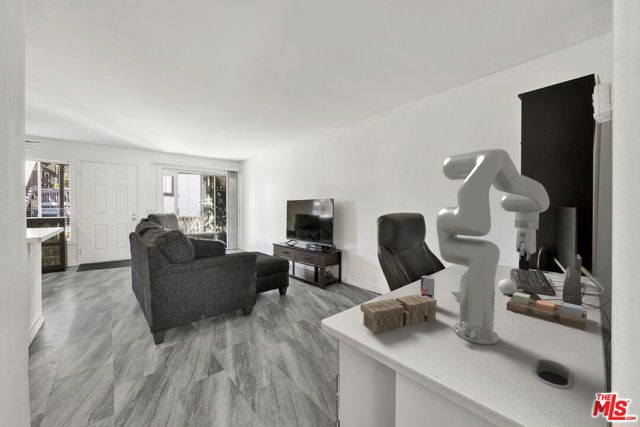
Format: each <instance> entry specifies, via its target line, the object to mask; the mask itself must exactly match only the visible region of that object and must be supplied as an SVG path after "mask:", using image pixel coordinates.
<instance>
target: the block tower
mask: <svg viewBox="0 0 640 427" xmlns="http://www.w3.org/2000/svg"><path fill="white" fill-rule="evenodd" d="M437 303H438V300H437V299H435V298H434V299H433V298H430V297H428V296H421V294H420V293H416V294H411V295H404V296H400V297H396V298H395V299H394V298H388V299H382V300H378V301H372V302H367V303H365V302H361V303H360V308H359V310H360V311H361V312H362V313H363V322H362V323H363V324H362V325H363V326H364V327H366V328H367V329H368V330H370V331H371V332H372V333H374V334H375V335H380V334H383V333H388V332H391V331H396V330H399V329H403V328H404V327H406V328H407V327H409V326H410V327H411V326H415V325H418V324H423V323H425V322H431V321H434V320H436V319H437V318H436V317H437V305H438V304H437Z"/></svg>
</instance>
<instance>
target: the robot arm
mask: <svg viewBox="0 0 640 427" xmlns="http://www.w3.org/2000/svg"><path fill="white" fill-rule="evenodd" d="M442 172H443V175H444V176H445V177H446V178H447V179H449V180H451V181H454V180H455V181H459V180H460V181H461V180H463V182H462V183H461V185H460V186H459V187H458V190H457V192H456V196H457V206H447V207H443V208H441V210H440V211H439V212H438V214H437V216H436V223H435V224H436V225H435V226H436V233H437V241H438V249H439V255H440V257H441V259H442V260H443V261H444V262H447V263H450V264H453V265H459V266H464V267H467V268H468V269H467V271H465V272H464V274H462V276H461V278H460V301H459V318H458V319H459V322H457V323H455V324H454V326H453V331H454V332H455V333H456V335H457V336H459V337H461V338H463V339H464V340H467V341H469V342H471V343H475V344H479V345H486V346H487V345H489V346H490V345H491V346H492V345H496V344H498V343H499V342H500V335H499V334H498V333H497V332H496V331H495V330H494V324H495V323H494V322H495V319H494V318H495V293H496V292H495V291H496V290H495V288H496V276H497V275H496V274H497V270H498V266H499V262H500V258H501V250H500V248H499V247H498V245H497V244H496V243H495V242H492V241H490V240H487V239H480V238H474V237H485V236H487V235H488V234H489V233H491V228H492V219H491V218H492V217H491V206H490V190H491V187H493V188H494V189H495V190H497V191H500V192H503V193H507V194H504V196H502V198H501V200H500V206H501V208H502V209H503V211H505V212H508V213H515V215H514V229H516V236H515V238H516V239H515V251H516V252H517V253H518V254H519V255H518V256H519V257H518V269H519V270H521V271H526V272H528V271H530V268H531V266H530V265H531V264H530V263H531V260H530V259H531V255H533V254H534V253H536V252H537V232H536V231H537V230H539V221H540V213H543V212H546V211H547V210H548V209H549V207H550V197H549V194H548V192H547V190H546V189H545V187H544V186H543V184H542V183H540V182H539V181H537V180H535V179H532V178H530V177H528V176H526V175H523V174H520V172H519V170H518V169H517V167H516V165H515V163H514V162H513V159H512V158H511V156H510V154H509V152H507V151H506V150H504V149H501V148H495V149H493V148H492V149H483V150H476V151H470V152H467V153H460V154H455V155H451V156H448V157H446V159H445V160H444V162H443V164H442ZM461 236H465V237H461ZM468 236H469V237H468ZM472 237H473V238H472Z"/></svg>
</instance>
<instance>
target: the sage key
mask: <svg viewBox="0 0 640 427" xmlns="http://www.w3.org/2000/svg"><path fill="white" fill-rule="evenodd" d="M512 297H513V300H512V301H515V302H519V303H523V304H527V305H528V304H529V303H530V299H531V294H527V293H523V292H518V291H515V293H513V294H512Z"/></svg>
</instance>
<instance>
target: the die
mask: <svg viewBox="0 0 640 427" xmlns="http://www.w3.org/2000/svg"><path fill="white" fill-rule="evenodd" d="M453 285H454V286H452V287H453V288H452V290H451V291H450V294H452V295H453V297H454V298H456V299H457V301H459V302H460V282H459V281H457V282H456V281H455V283H454V284H453Z"/></svg>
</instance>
